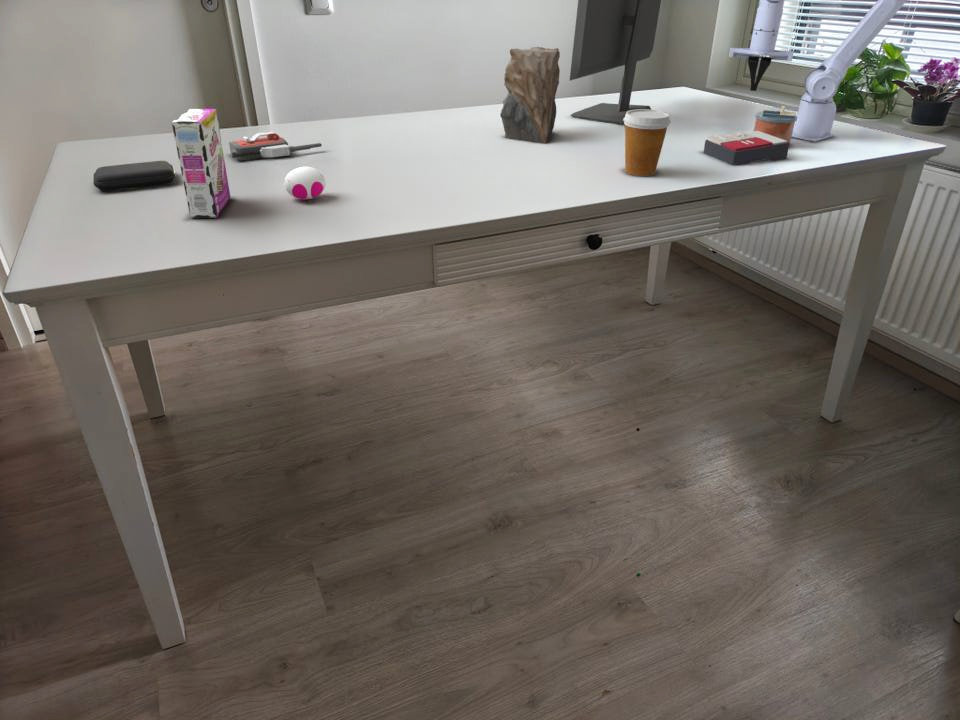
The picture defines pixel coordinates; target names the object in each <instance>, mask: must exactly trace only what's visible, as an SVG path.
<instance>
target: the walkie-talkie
mask: <svg viewBox="0 0 960 720" xmlns="http://www.w3.org/2000/svg"><path fill="white" fill-rule="evenodd" d="M265 136H266V137H265ZM228 145H229V151H230V155H231V157H232V158H233V159H236V160H237V161H242V162H243V161H249V160H256V159H264V158H278V157H285V156H290V155H291V153H295V152H298V151H305V150H311V149H314V148H321V147H322V143H321V142H317V143H309V144H303V145H296V146H293V145H291V146H290V145H289V142H288V141H286V139H285V138H283V137H281V136H280V135H279V134H278V133H276V132H275V131H266V132H256V133H255V134H254V135H253V136H252V137H251V138H250V137H248V136H243V138H242V139H241V140H234V141H229V142H228Z"/></svg>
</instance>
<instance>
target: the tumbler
mask: <svg viewBox="0 0 960 720" xmlns="http://www.w3.org/2000/svg"><path fill="white" fill-rule="evenodd" d="M788 112H789V113H795V112H792V111H788ZM780 113H781V110H769V109H768V110H767V109H763V110H760V111H757V112H755V116H754V117H755V121H754V126H753V131H760V132H763V133H766V134H769V135H771V136H774V137H777V138H780V139H783V140H786V141H787V142H789V143H790V144H791V142H792V138H793V137H792V133H793V131H794V127H795V123H796V121H797V115H796V114H795V116H791V115H780ZM790 144H789V146H791V145H790Z"/></svg>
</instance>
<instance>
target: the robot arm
mask: <svg viewBox="0 0 960 720" xmlns="http://www.w3.org/2000/svg"><path fill="white" fill-rule="evenodd" d="M906 2H908V0H877V1H876V2H875V3H874V4H873V5H872V7H871V8H870V9H869V10H868V11H867V12H866V14H865V15H864V16H863V17H862V19H860V21H859V22H858V23H857V25H856V26H855V27H854V28H853V29H852V30H851V32H849V34H848V35H847V36H846V38H844V40H843V41H842V42H841V43H840V45H838V47H837V48H836V49H835V51H833V53H832V54H830V56H828V57H827V58H826V59H824V61H822V63H820V65H819V66H818V67H816V68H814V69H811V70H810V71H809V72H808V73H807V75H806V76H805V78H804V80H803V87H804V90H805V92H804V94H803V95H801V97H800V101H799V106H798V110H797V115H796V116H797V121H795V124H794V128H793V133H792V137H791V138H795V139H800V140H804V141H808V142H815V143H816V142H818V141H819V142H820V141H822V140H825V139H829V138H832V137H833V136H834V133H831V132H832V128H833V125H834V121H835V117H836V113H837V104H836V103H835V101H834V98H833V97H834V96H836V94H837V92H838V89H839V86H840V84H841V83H842V81H843V80H844V79H845V77H846V75H847V72H848V70H849V68H850V67H851V66H852V65H853V63H855V62H856V60H857V59H858V58H859V57H860V56H861V55H862V54H863V52H864V51H865V50H866V48H867V47H868V46H869V45H870V44H871V43H872V42H873V40H874V39H876V37H877V36H878V35H879V33H880V32H881V31H882V30H883V29H884V28H885V27H886V25H887V24H888V23H889V22H890V21H891V20H892V18H894V16H895V15H896V14H897V13H898V12H899V10H900V9H901V8H902V7H903V6H904V5H905V4H906ZM784 5H785V0H759V2H758V7H757V10H756V14H755V20H754V25H753V30H752V35H751V39H750V45H749V47H730V48H729V54H728V58H744V59H745V58H746V59H747V66H748V68H749V75H750V89H749V90H750V91H751V92H757V89H758V86H759V84H760V81H761V80H762V78H763V76H764V74H765V73H766V71H767V70H768V68H769V66H770V65H771V64H772V60H773V61H786V62H793V57H794V53H795V52H794V51H787V50H781V49H780V50H778V49H775V48H776V45H777V40H778V35H779V32H780V27H781V21H782V17H783V12H784ZM758 65H759V66H758Z"/></svg>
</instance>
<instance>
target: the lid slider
mask: <svg viewBox="0 0 960 720" xmlns="http://www.w3.org/2000/svg"><path fill="white" fill-rule="evenodd" d="M785 109H786V106H785V105H781V109H780V111H781V113H780V115H791V116H795V115H796V112H794V113H789V112H790V111H785Z"/></svg>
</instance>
